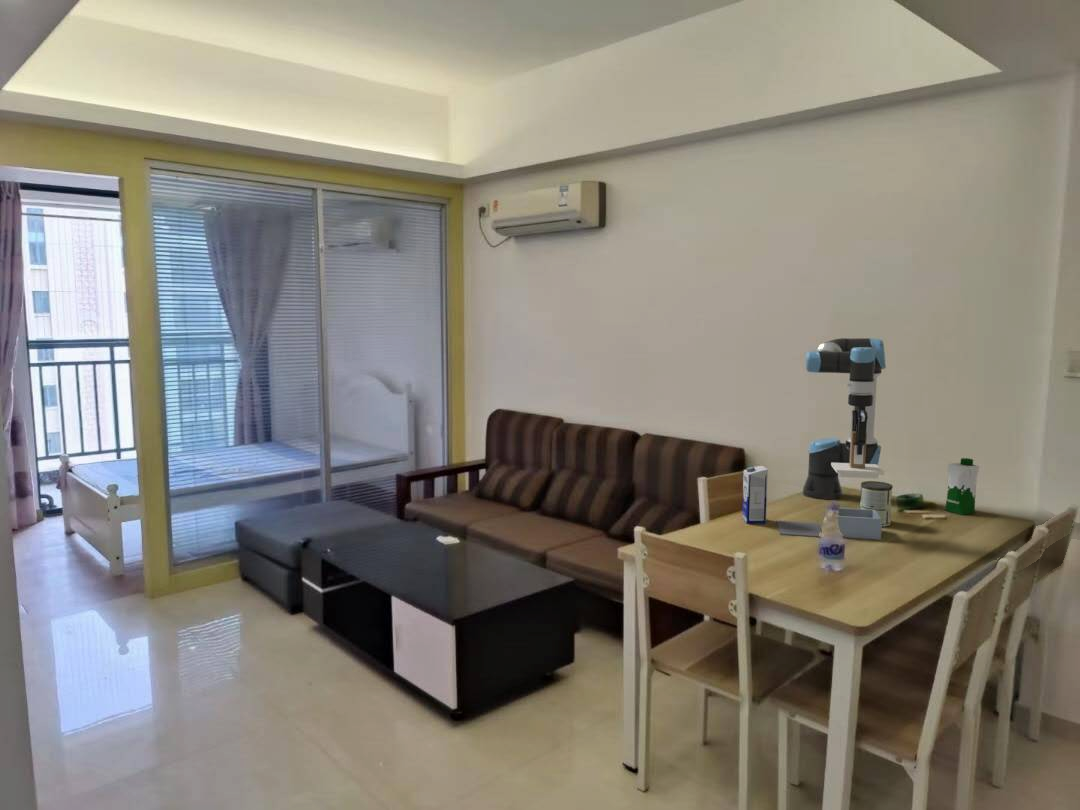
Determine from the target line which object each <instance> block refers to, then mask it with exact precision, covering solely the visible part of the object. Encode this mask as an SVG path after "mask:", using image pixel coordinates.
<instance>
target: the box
mask: <svg viewBox="0 0 1080 810" xmlns="http://www.w3.org/2000/svg"><path fill="white" fill-rule="evenodd" d="M838 508H839V514H838V517H837V518H838V525H839V529H840V532H841V533H842V534H843V536H844V537H843V538H850V539H864V540H881V539H882V527H881V525H882V519H881V517H880V516H879V515H878V513H877V512H876V511H875V510H871V509H860V508H851V507H850V508H849V507H838Z"/></svg>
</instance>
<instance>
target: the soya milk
mask: <svg viewBox="0 0 1080 810" xmlns="http://www.w3.org/2000/svg"><path fill="white" fill-rule="evenodd" d="M946 466H947V467H946V468H947V472H948V479H947V496H946V502H945V509H944V510H945V511H946V512H949V513H953V514H957V515H962V516H963V515H968V514H969V515H970V514H975V512H976V511H975V509H976V507H975V506H976V493H977V478H978V474H979V469H980V465H975V464H974V459H972V458H968V457H967V458H966V457H962V458H960V462H953V463H949V464H948V463H947V464H946Z"/></svg>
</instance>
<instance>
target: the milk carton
mask: <svg viewBox="0 0 1080 810" xmlns="http://www.w3.org/2000/svg"><path fill="white" fill-rule="evenodd" d="M768 470H769V469H768V468H766V467H765V466H763V465H757V466H749V467H747V468H746V469H743V479H742V480H743V481H742V484H743V485H742V506H741V507H742V509H741V510H742V511H741V512H742V514H741V518H742V520H743V521H744V522H745V523H746V524H749V525H751V524H752V525H758V524H760V525H761V524H762V525H763V524H764V525H765V524H767V523H766V522H767V502H768V501H767V499H768V498H767V497H768V495H767V494H768V476H769V474H768V473H769V471H768Z"/></svg>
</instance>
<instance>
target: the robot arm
mask: <svg viewBox="0 0 1080 810" xmlns="http://www.w3.org/2000/svg"><path fill="white" fill-rule="evenodd" d="M805 357H806V359H805V363H806V364H805V369H806V372H809V373H814V374H815V373H816V374H817V373H819V374H820V373H823V374H825V373H828V374H829V373H832V374H833V373H835V374H849V383H847V387H848V393H849V394H848V397H847V398H848V400H847V403H848V406H851V412H850V413H851V414H850V415H851V417H850V430H849V431H850V434H849V436H848V437H846V438H845V442H841V440H840V439H839V438H830V437H829V438H820V439H819V438H818V439H815V440H812V441H811V442H810V443H809V451H808V454H809V455H808V469H807V470H808V473H807V477H806V480H805V483H804V485H803V487H802V495H804V496H805V497H807V498H808V497H809V498H814V499H819V500H820V499H821V500H837V499H841V498H842V497H843V490H842V486H841V483H840V479H839V474H838V473H836V471H835V470H834V469H833V467H832V466H831V462H832V463H849V461H850V441H851V431H856V443H853V445H855V449H854V464H863V451H864V444H865V443H866V457H865V464H877V465H878V466H879V462H880V458H881V457H880V456H881V451H882V446H881V445H880V444H878V440H877V439H876V437H875V416H876V400H877V399H876V397H877V396H876V395H877V385H878V384H877V382H878V380H877V378H878V377H879V376H880V375H881V374H882V371H883V370H884V369H886V355H885V344H884V341H883V340H882V339H880V338H871V337H869V338H863V337H862V338H854V337H853V338H847V337H845V338H843V337H841V338H835V339H834V338H833V339H831V340H828V341H825V342H824V343H821V344H820V345H819V346H818V348H817V349H816V350H812V351H811V350H809V351H808V352H807V353H806V356H805ZM866 433H867V439H866ZM865 440H866V442H865Z"/></svg>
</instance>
